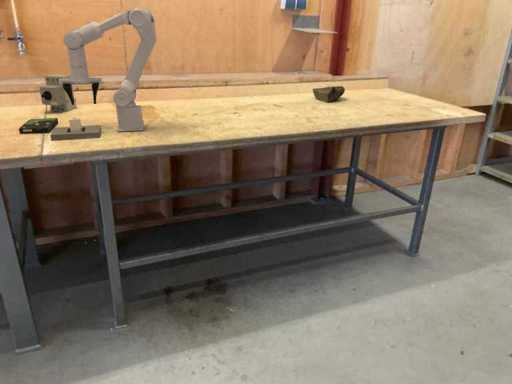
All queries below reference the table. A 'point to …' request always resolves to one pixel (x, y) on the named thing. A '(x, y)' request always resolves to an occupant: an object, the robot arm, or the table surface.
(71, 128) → the block
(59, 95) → the circuit breaker
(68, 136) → the outlet plate
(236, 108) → the table surface
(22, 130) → the disk drive
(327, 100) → the concrete fragment
